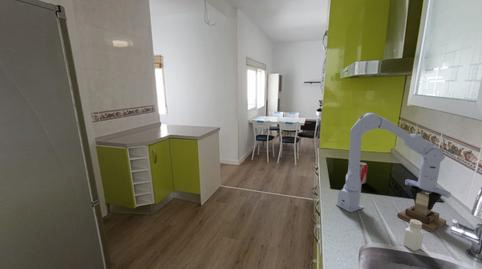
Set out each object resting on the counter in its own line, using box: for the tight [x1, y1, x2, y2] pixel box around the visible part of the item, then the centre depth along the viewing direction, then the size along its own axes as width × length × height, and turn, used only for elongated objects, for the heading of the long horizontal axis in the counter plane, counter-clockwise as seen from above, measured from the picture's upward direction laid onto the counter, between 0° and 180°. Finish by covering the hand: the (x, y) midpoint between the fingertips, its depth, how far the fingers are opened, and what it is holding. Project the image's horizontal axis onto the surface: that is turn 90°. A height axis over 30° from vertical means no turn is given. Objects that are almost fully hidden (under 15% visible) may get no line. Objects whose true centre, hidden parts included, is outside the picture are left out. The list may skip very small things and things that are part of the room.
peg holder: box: [396, 204, 448, 233], centre depth 90 cm, size 12×12×4 cm
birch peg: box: [414, 190, 432, 216], centre depth 89 cm, size 4×4×8 cm
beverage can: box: [360, 161, 369, 185], centre depth 128 cm, size 6×6×12 cm
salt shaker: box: [402, 219, 424, 252], centre depth 74 cm, size 4×4×10 cm
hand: (423, 206), depth 89 cm, fingers closed on birch peg, 4 cm apart
